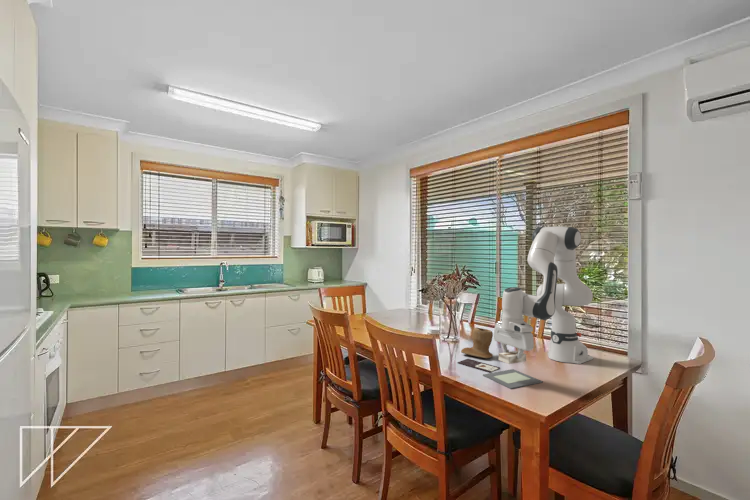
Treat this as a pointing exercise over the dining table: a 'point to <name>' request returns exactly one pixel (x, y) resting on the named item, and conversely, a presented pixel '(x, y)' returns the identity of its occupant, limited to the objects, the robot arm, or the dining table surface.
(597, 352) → the dining table surface
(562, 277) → the robot arm
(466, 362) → the chocolate bar
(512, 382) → the mat
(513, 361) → the cream block
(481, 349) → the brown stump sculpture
